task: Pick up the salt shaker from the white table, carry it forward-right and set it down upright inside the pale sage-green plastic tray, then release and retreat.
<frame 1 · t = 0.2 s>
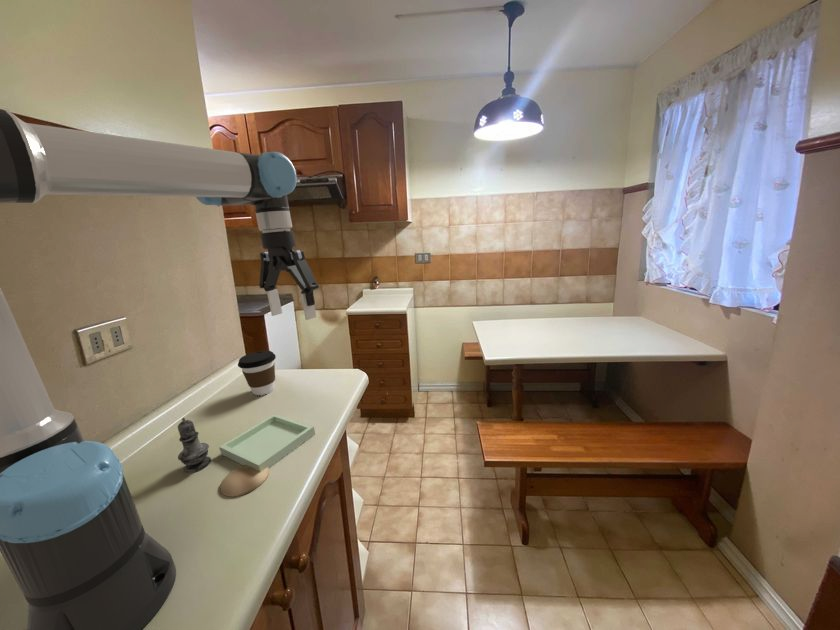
hand: (293, 316, 87), 28 cm above the counter, fingers open, 13 cm apart
cork coaster: (245, 479, 70), on the counter
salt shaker: (198, 465, 76), on the counter
coffee cup: (264, 391, 110), on the counter
tray: (269, 443, 82), on the counter
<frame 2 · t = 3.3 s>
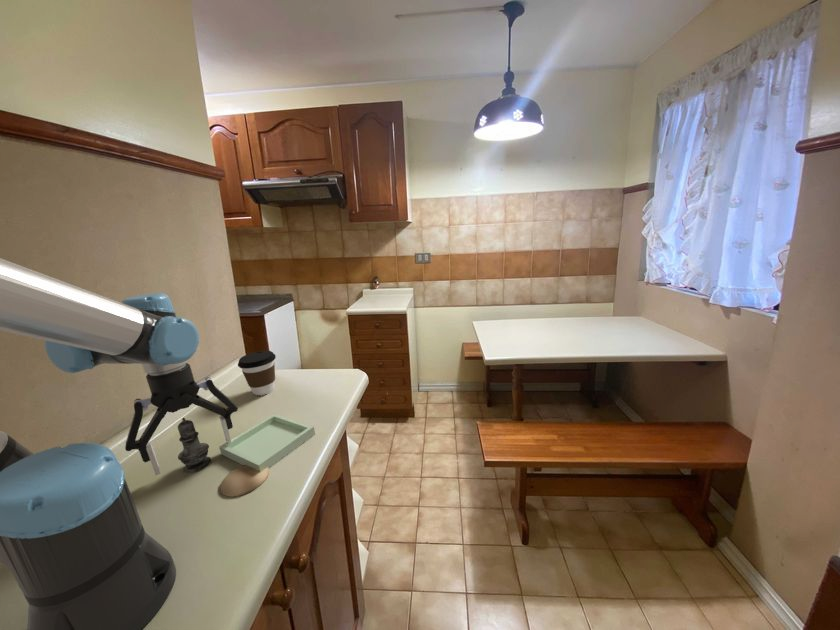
hand: (195, 456, 76), 2 cm above the counter, fingers open, 13 cm apart
nothing on the counter moved.
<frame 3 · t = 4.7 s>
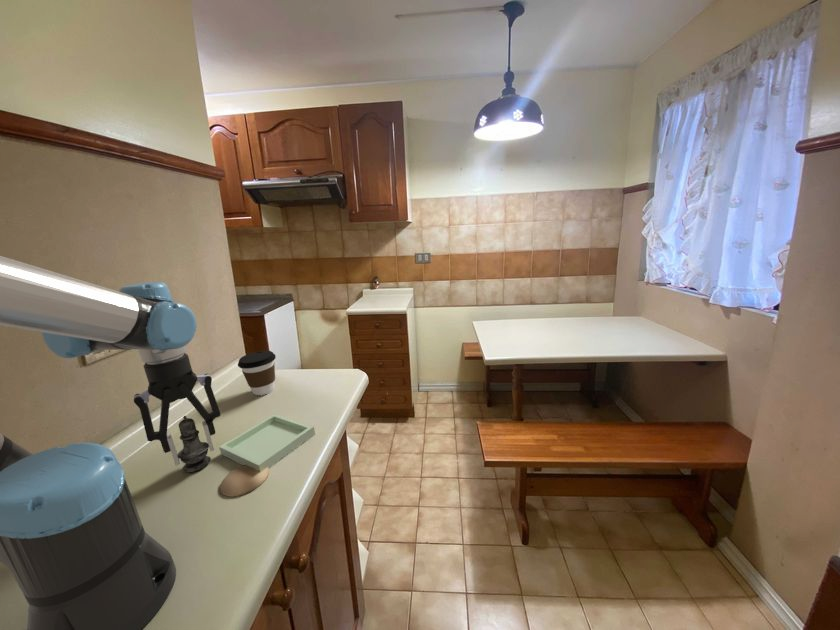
hand: (194, 454, 75), 3 cm above the counter, fingers closed on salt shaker, 6 cm apart
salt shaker: (197, 464, 76), on the counter, touching gripper
everything else where it was.
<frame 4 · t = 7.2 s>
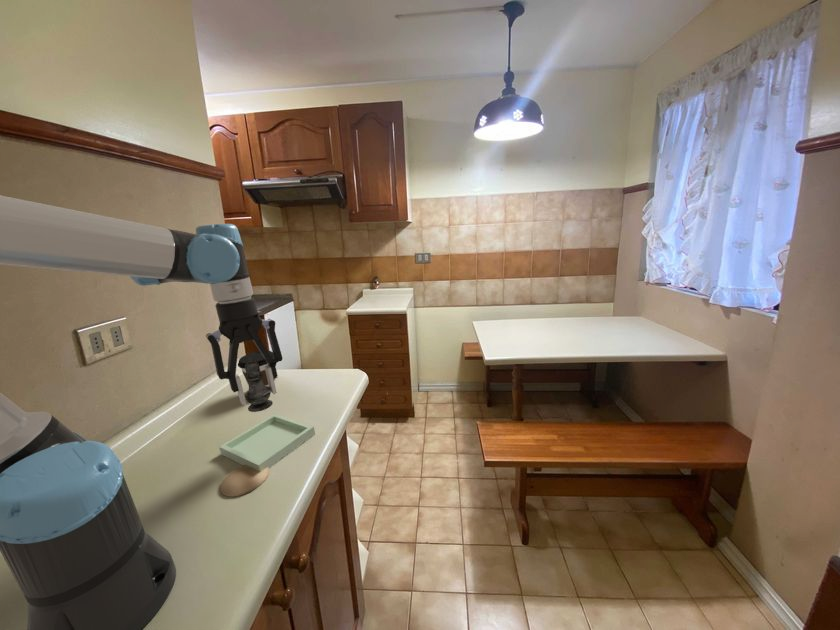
hand: (258, 397, 78), 12 cm above the counter, fingers closed on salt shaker, 6 cm apart
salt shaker: (260, 406, 79), point 10 cm above the counter, touching gripper
everything else where it was.
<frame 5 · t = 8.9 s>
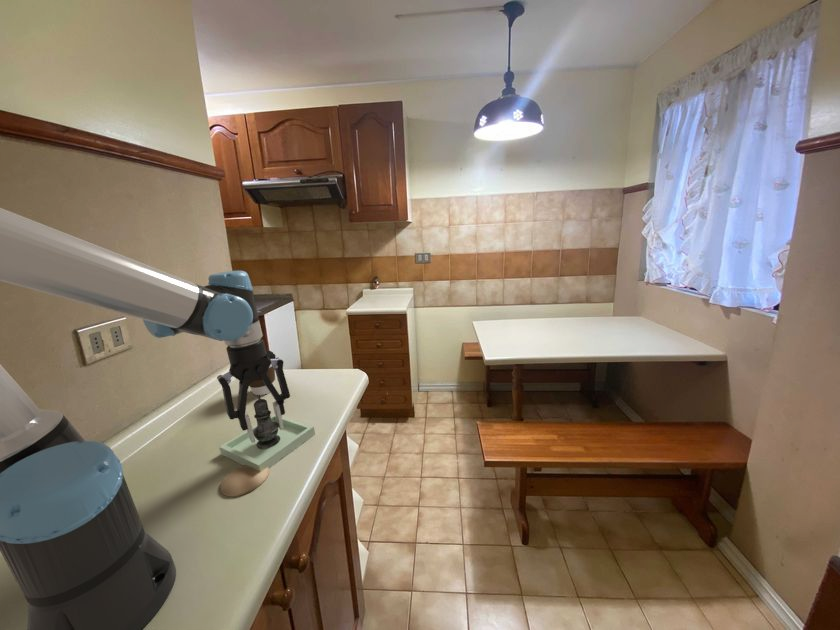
hand: (266, 433, 81), 3 cm above the counter, fingers closed on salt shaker, 6 cm apart
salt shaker: (268, 442, 81), resting on tray, touching gripper
everything else where it was.
when the fingers open (3 cm above the counter, at t = 9.5 s): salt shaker stays where it is, resting on tray.
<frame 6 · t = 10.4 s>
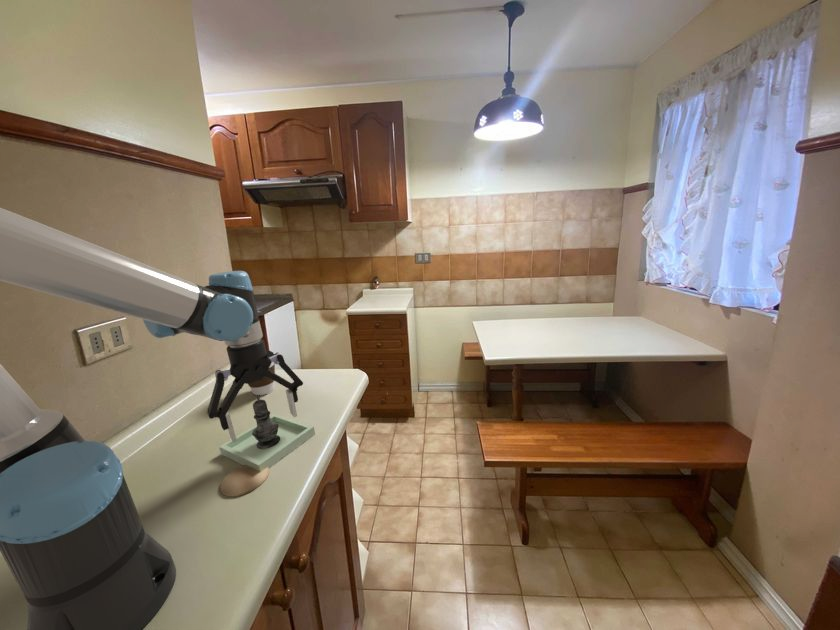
hand: (265, 426, 80), 5 cm above the counter, fingers open, 13 cm apart
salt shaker: (268, 442, 81), resting on tray
everything else where it was.
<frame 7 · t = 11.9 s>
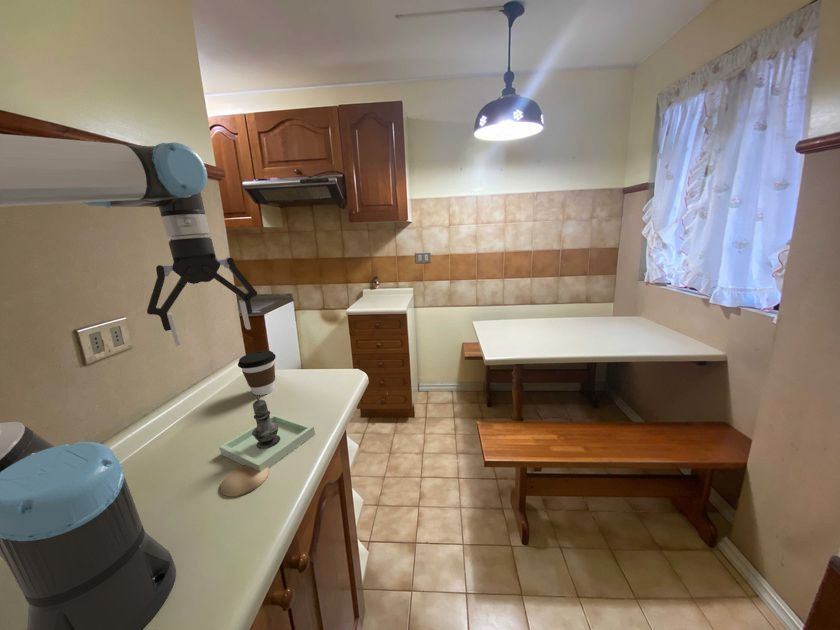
hand: (214, 335, 75), 28 cm above the counter, fingers open, 13 cm apart
nothing on the counter moved.
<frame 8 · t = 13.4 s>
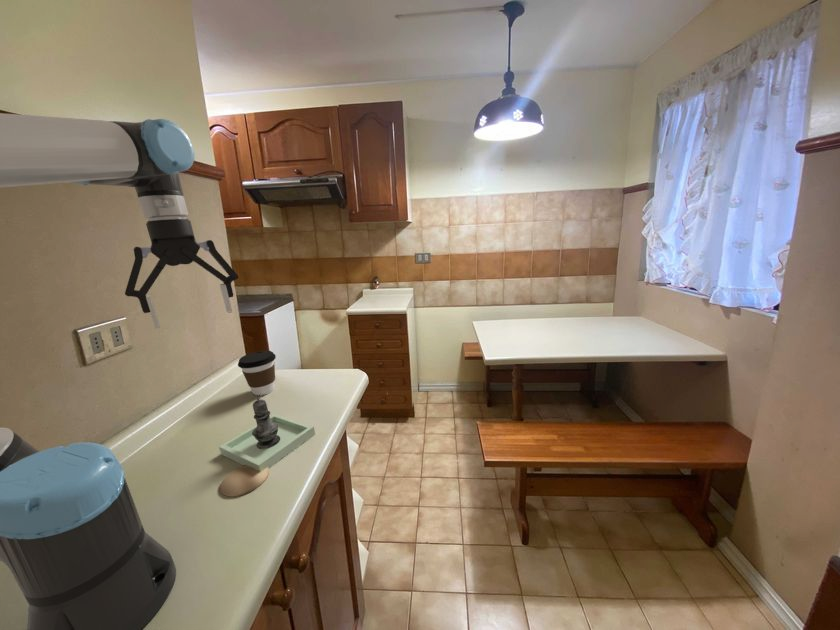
hand: (195, 319, 75), 32 cm above the counter, fingers open, 13 cm apart
nothing on the counter moved.
at the end: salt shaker inside the target area on the tray (0.1 cm from its centre), point 0.4 cm above the tray's base; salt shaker tilted 0°; the gripper is holding nothing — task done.
